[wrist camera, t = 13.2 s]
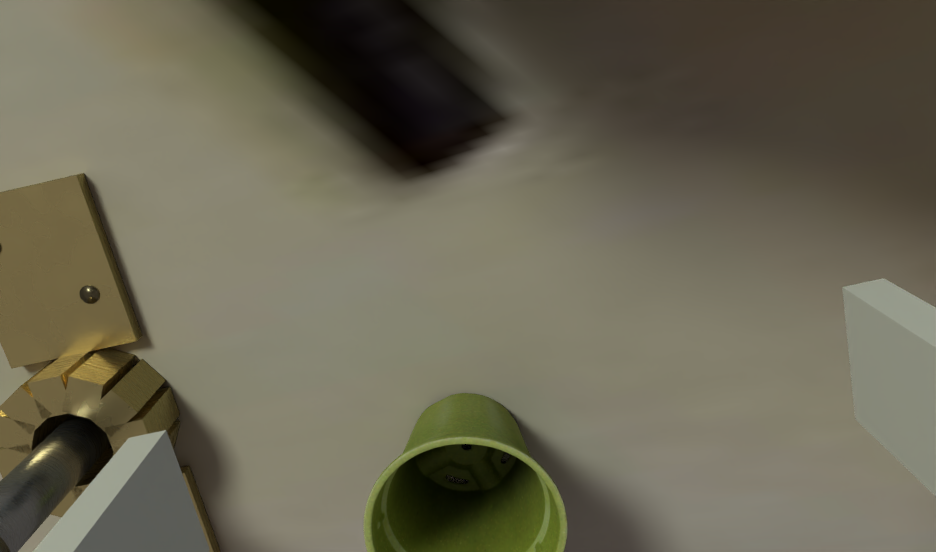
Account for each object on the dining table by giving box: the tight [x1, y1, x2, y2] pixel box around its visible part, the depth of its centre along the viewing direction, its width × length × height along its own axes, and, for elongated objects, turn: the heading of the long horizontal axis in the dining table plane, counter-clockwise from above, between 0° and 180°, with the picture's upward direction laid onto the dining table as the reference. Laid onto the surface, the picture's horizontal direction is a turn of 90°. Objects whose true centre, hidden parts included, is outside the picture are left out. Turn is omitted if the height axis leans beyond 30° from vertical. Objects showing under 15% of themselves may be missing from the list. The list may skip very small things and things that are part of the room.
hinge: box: [0, 173, 220, 552], centre depth 43 cm, size 26×8×4 cm, turn 13°
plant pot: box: [364, 393, 567, 552], centre depth 41 cm, size 9×9×9 cm
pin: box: [0, 414, 111, 552], centre depth 38 cm, size 4×4×14 cm
